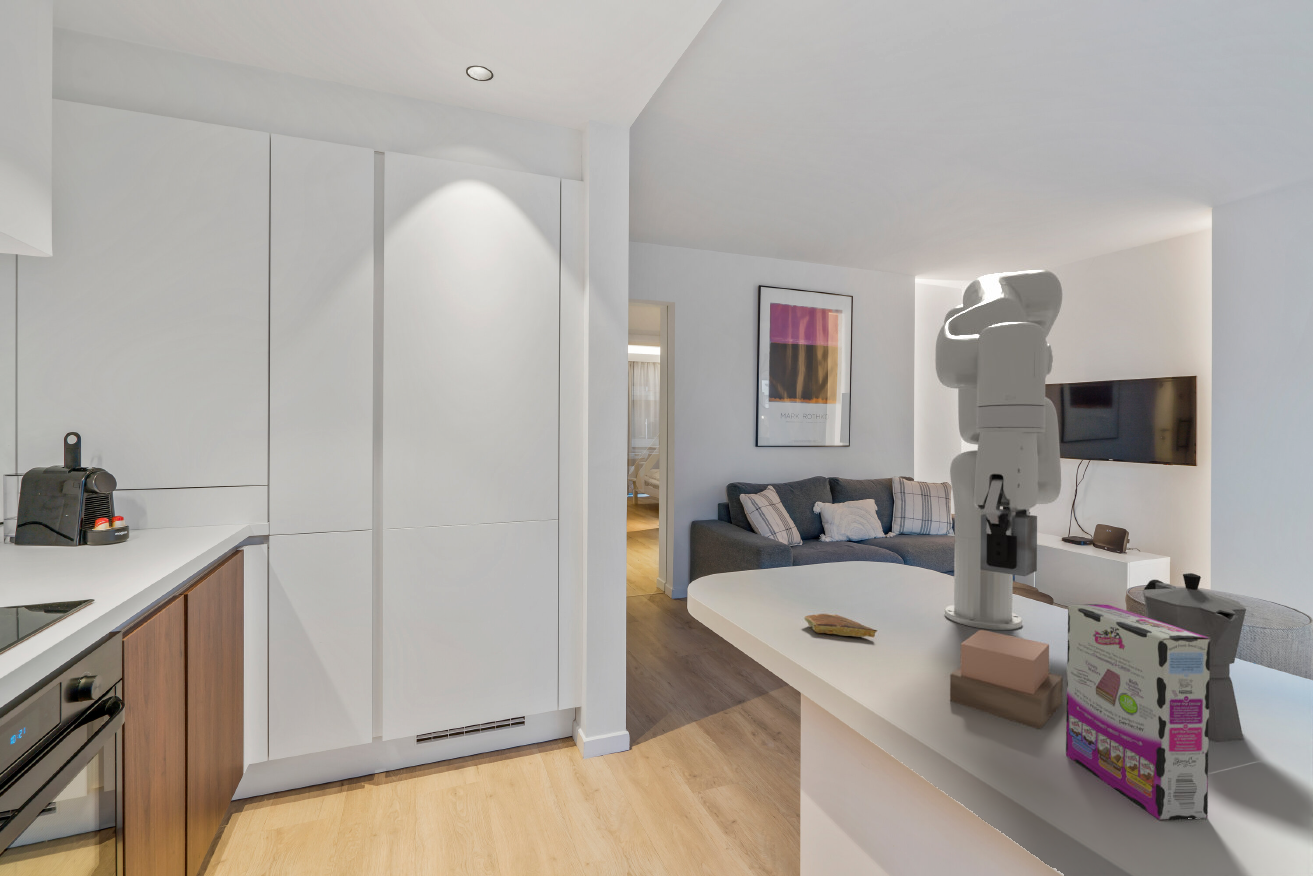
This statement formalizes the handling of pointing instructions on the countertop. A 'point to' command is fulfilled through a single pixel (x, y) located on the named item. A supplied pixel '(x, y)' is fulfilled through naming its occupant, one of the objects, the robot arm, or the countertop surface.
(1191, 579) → the coffeepot
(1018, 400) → the robot arm
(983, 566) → the grey block
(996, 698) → the tower base
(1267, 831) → the countertop surface
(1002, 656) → the tower top
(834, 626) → the flatbread slice
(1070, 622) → the candy bar box
